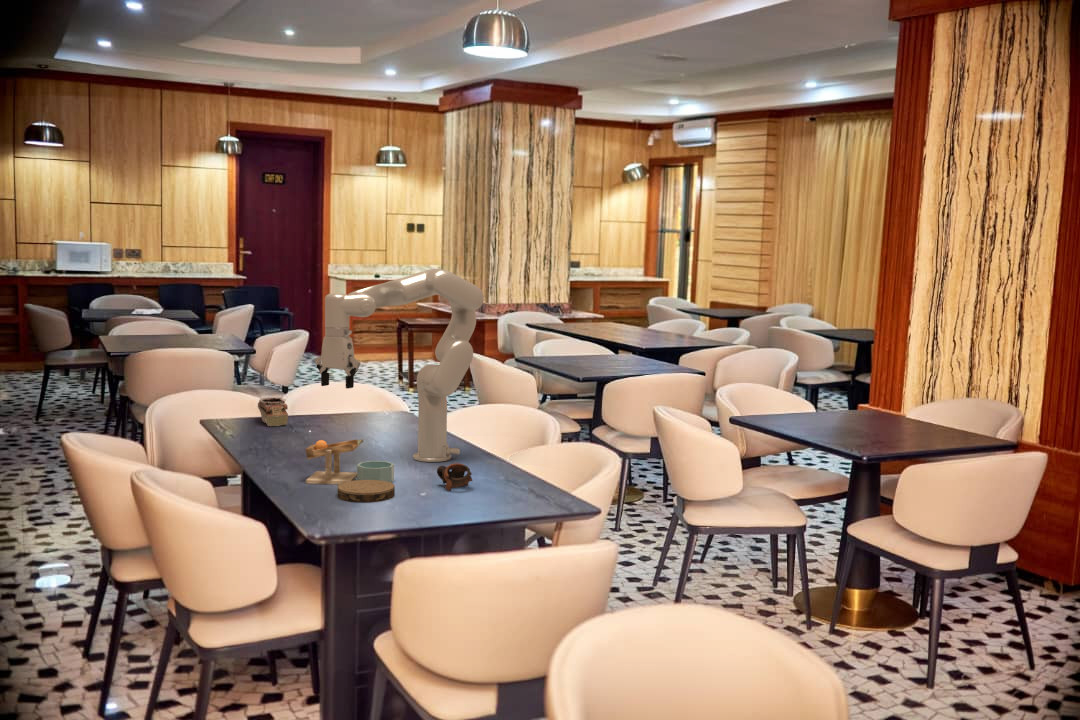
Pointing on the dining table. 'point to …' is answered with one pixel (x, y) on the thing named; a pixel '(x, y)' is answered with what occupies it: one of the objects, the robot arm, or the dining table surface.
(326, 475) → the frame
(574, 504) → the dining table surface
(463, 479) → the pottery mug
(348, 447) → the lever
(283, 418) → the decorative box
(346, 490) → the wood log slice
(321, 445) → the ball
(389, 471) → the green octagonal bowl
